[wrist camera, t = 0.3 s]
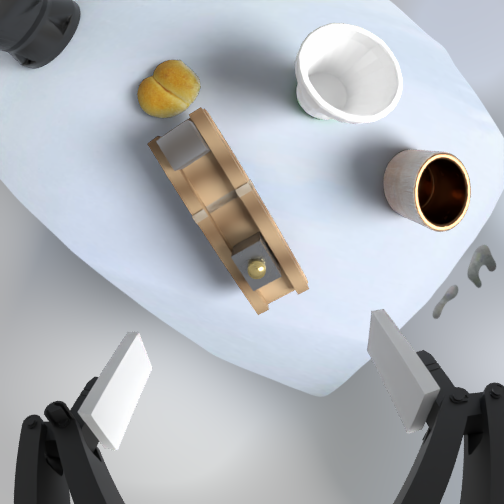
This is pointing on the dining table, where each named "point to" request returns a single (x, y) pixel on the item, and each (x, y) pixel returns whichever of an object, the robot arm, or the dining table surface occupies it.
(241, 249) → the rider
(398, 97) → the cup
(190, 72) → the bread roll
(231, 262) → the beam
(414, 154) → the planter
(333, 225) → the dining table surface
